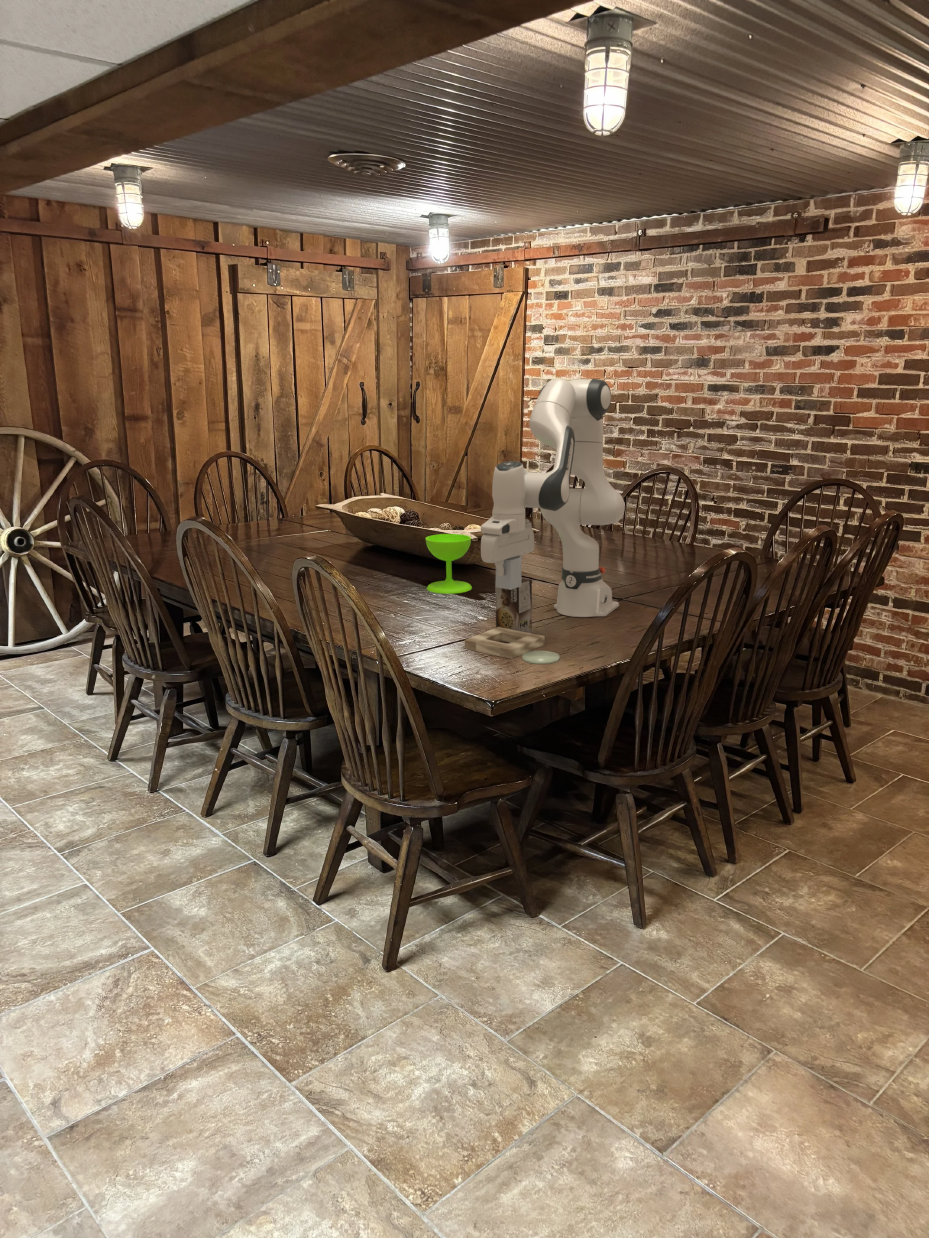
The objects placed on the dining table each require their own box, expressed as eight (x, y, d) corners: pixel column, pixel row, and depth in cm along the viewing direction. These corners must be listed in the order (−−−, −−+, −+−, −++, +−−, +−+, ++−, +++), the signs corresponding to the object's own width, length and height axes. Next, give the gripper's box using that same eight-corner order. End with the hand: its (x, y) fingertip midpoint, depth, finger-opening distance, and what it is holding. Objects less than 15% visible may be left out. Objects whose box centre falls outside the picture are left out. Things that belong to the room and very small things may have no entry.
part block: (506, 583, 253) (506, 555, 251) (521, 586, 250) (521, 557, 248) (495, 587, 249) (495, 558, 247) (510, 589, 246) (510, 560, 244)
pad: (535, 650, 252) (535, 648, 252) (566, 657, 246) (566, 654, 246) (514, 659, 245) (514, 657, 244) (546, 666, 239) (546, 664, 238)
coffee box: (532, 632, 269) (533, 579, 264) (518, 637, 264) (519, 583, 260) (508, 627, 275) (508, 574, 270) (494, 632, 270) (494, 578, 266)
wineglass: (466, 594, 314) (466, 542, 309) (421, 592, 317) (420, 541, 312) (475, 583, 329) (475, 534, 324) (432, 582, 332) (431, 533, 328)
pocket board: (498, 635, 267) (498, 626, 266) (544, 644, 257) (544, 636, 257) (464, 648, 255) (464, 639, 254) (511, 658, 245) (511, 650, 244)
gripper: (521, 517, 255) (521, 565, 259) (476, 527, 239) (476, 578, 243) (540, 519, 251) (539, 568, 255) (495, 529, 236) (496, 582, 239)
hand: (508, 573), depth 249 cm, fingers closed on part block, 5 cm apart
